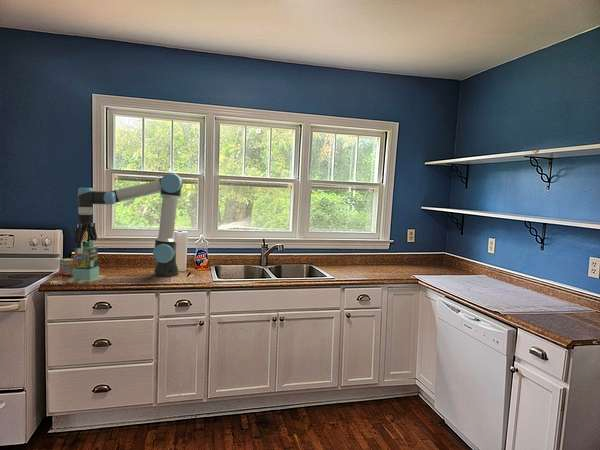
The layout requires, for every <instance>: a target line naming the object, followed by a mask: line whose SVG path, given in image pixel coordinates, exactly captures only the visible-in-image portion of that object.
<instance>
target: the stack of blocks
mask: <svg viewBox="0 0 600 450" xmlns="http://www.w3.org/2000/svg"><path fill="white" fill-rule="evenodd" d="M74 268H75V255H73V256H72V258H62V259H59V275H67V276H68V275H69V276H73V269H74Z"/></svg>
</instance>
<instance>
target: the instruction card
mask: <svg viewBox="0 0 600 450" xmlns="http://www.w3.org/2000/svg"><path fill="white" fill-rule="evenodd" d="M50 282H51V283H50V284H49V285H58V284H59V283H60V284H61V283H62V284H61V285H64V284H68V283H67V282H64V280H51V281H50ZM52 282H53V284H52ZM45 283H46V282H45ZM45 283H44V285H46V284H45ZM63 283H64V284H63Z"/></svg>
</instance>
